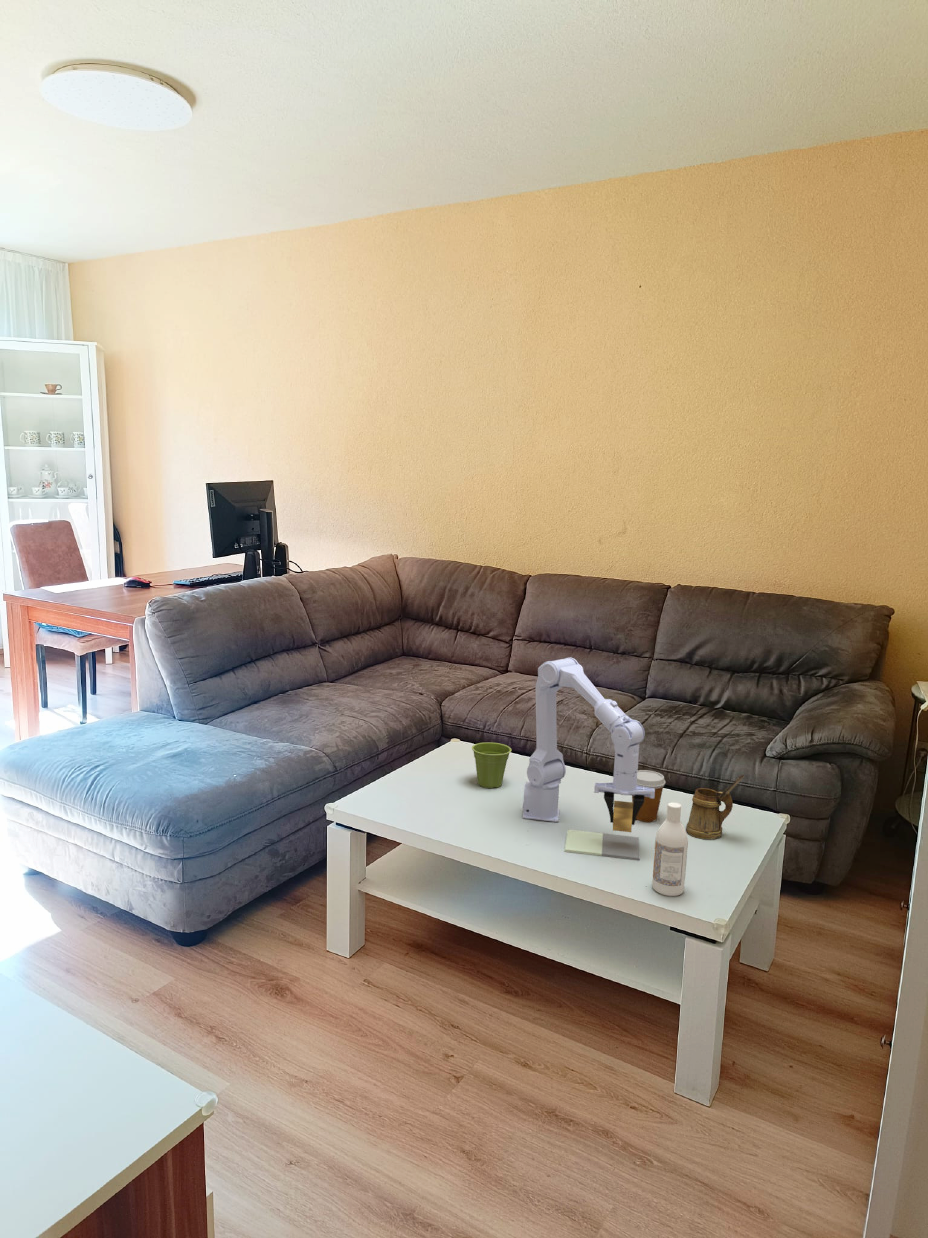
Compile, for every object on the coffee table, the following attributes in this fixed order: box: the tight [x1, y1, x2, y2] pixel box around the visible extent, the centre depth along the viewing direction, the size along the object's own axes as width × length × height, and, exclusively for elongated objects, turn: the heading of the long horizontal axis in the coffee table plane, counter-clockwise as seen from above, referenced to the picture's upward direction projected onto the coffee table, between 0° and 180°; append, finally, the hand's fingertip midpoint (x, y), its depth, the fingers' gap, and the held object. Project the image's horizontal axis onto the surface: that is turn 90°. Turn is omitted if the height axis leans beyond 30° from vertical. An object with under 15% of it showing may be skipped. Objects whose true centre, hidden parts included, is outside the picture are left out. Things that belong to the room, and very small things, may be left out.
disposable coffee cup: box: [631, 769, 666, 823], centre depth 218 cm, size 10×10×12 cm
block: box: [612, 800, 633, 833], centre depth 199 cm, size 4×4×6 cm
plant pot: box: [471, 741, 512, 789], centre depth 239 cm, size 12×12×11 cm
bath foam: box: [651, 802, 689, 897], centre depth 178 cm, size 7×7×20 cm
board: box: [564, 829, 640, 861], centre depth 201 cm, size 18×12×1 cm, turn 79°
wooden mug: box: [685, 774, 745, 841], centre depth 208 cm, size 9×14×18 cm, turn 55°
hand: (622, 822), depth 199 cm, fingers closed on block, 4 cm apart
